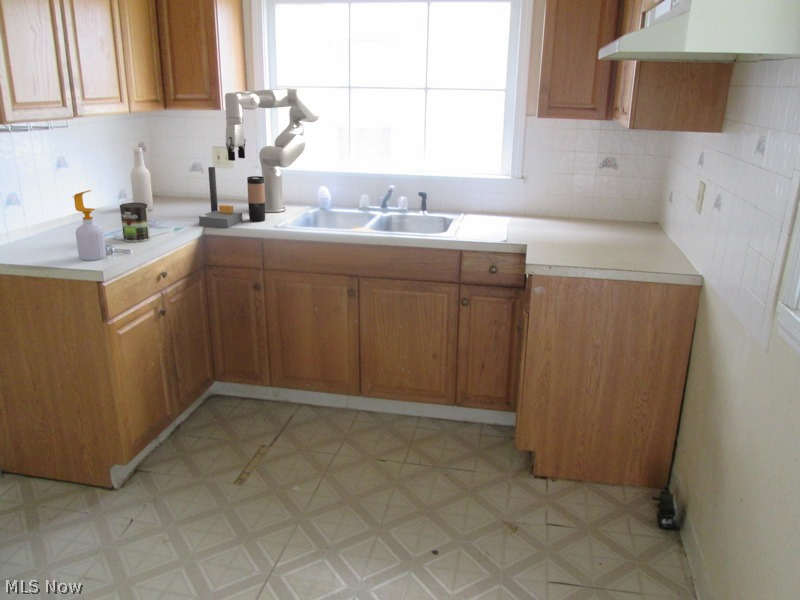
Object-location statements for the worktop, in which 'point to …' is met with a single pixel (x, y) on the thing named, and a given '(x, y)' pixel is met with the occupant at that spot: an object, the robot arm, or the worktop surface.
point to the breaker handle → (225, 209)
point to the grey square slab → (220, 219)
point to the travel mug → (256, 198)
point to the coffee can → (135, 222)
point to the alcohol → (141, 181)
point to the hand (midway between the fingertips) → (236, 159)
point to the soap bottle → (89, 234)
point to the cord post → (213, 189)
